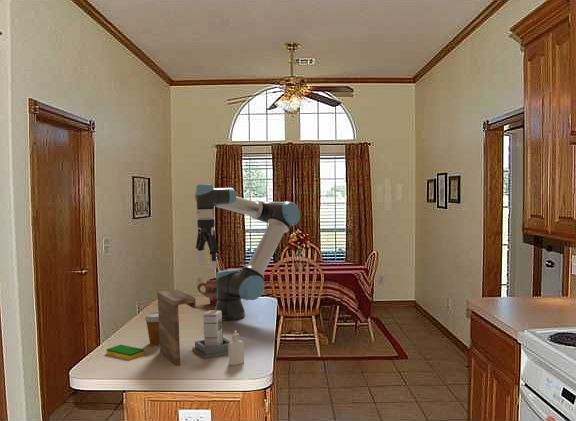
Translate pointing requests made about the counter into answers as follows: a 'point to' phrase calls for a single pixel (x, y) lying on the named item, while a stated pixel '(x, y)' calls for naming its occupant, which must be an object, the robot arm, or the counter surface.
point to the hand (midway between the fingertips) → (207, 266)
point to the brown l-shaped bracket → (171, 322)
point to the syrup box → (213, 328)
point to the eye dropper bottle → (235, 350)
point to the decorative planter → (209, 290)
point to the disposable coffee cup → (153, 327)
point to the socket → (211, 349)
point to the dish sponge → (125, 351)
